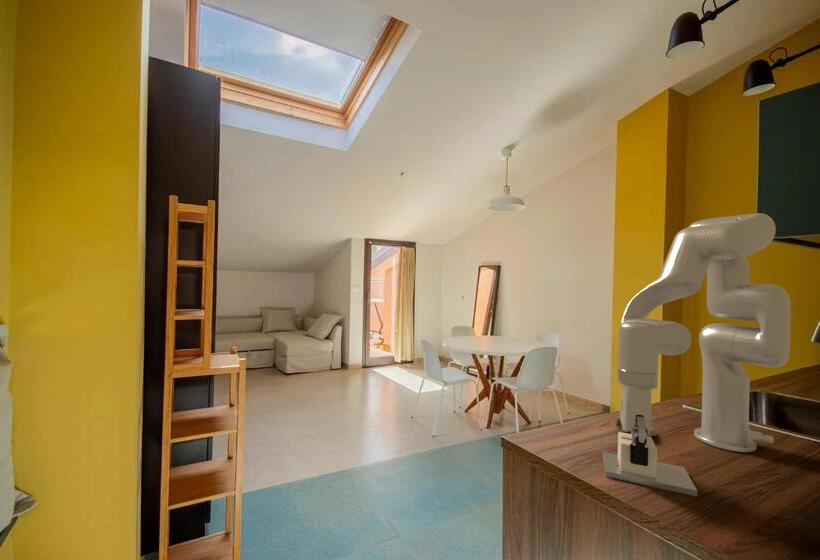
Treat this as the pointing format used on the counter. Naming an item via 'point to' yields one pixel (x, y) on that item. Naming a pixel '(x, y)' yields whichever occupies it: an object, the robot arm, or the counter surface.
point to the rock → (619, 426)
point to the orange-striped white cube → (624, 457)
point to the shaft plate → (666, 477)
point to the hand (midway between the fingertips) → (635, 454)
